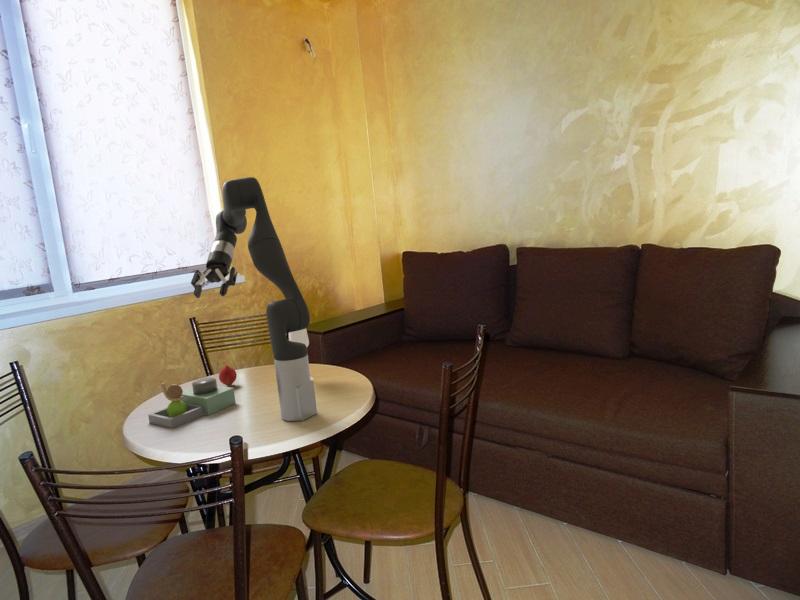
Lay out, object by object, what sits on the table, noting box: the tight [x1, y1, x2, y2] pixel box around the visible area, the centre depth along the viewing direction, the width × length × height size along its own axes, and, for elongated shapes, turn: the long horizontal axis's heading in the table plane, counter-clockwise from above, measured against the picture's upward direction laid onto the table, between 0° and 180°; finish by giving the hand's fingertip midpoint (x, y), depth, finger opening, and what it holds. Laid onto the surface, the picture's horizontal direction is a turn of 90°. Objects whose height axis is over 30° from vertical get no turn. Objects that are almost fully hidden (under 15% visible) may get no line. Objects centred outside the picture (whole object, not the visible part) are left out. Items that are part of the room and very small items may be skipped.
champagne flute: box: [288, 328, 314, 381], centre depth 177 cm, size 7×7×24 cm
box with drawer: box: [147, 377, 236, 429], centre depth 155 cm, size 14×21×8 cm, turn 148°
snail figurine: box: [159, 379, 187, 418], centre depth 151 cm, size 5×6×12 cm
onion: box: [218, 363, 237, 387], centre depth 179 cm, size 6×6×8 cm
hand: (209, 295), depth 164 cm, fingers open, 8 cm apart
